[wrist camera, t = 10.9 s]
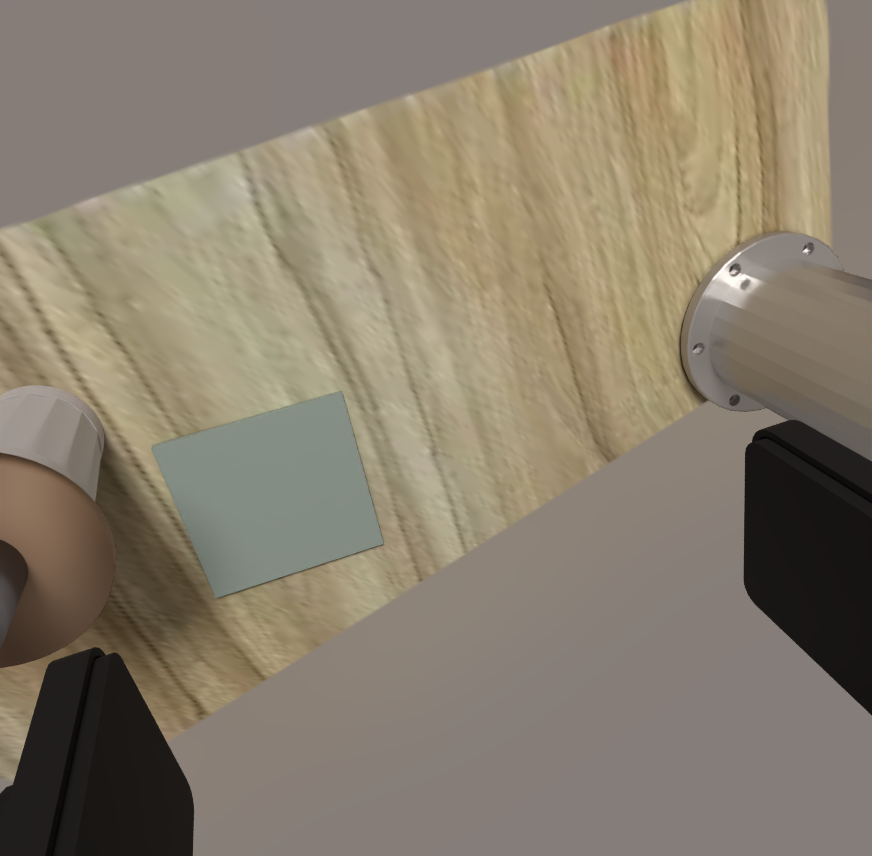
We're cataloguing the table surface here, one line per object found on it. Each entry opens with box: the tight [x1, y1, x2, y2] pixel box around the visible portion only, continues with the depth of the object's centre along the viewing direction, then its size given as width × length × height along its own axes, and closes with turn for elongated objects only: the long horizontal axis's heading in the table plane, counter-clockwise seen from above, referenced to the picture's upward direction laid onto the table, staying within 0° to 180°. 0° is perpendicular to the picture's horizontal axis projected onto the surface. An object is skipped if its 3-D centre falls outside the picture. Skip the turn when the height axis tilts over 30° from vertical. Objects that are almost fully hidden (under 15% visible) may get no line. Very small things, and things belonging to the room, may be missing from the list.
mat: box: [151, 391, 384, 598], centre depth 46 cm, size 12×12×1 cm
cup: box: [0, 385, 104, 501], centre depth 36 cm, size 8×8×12 cm
